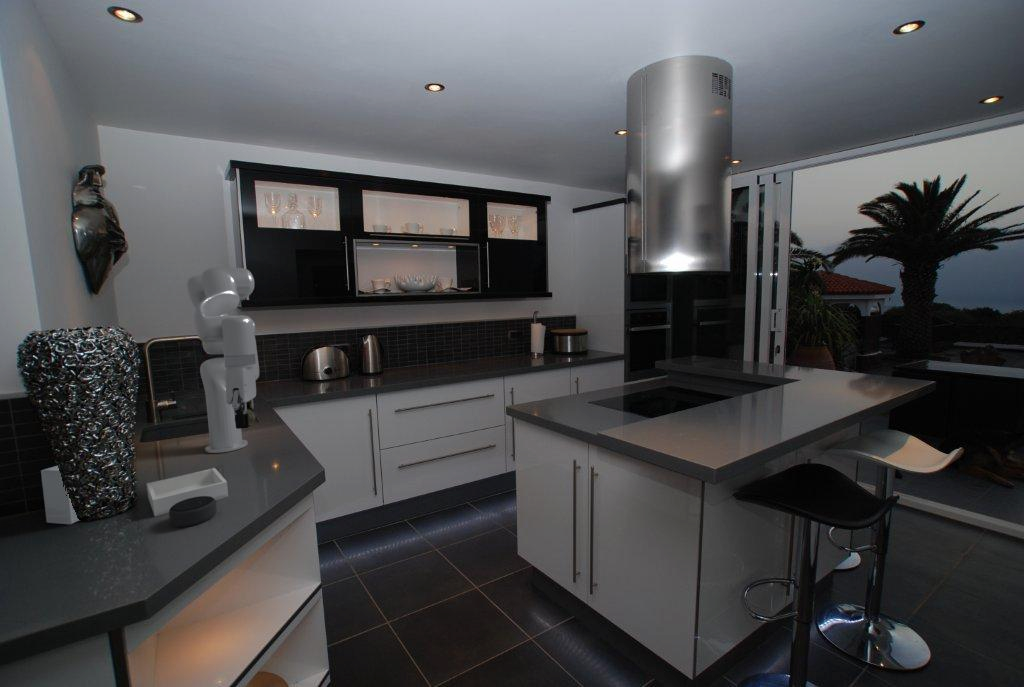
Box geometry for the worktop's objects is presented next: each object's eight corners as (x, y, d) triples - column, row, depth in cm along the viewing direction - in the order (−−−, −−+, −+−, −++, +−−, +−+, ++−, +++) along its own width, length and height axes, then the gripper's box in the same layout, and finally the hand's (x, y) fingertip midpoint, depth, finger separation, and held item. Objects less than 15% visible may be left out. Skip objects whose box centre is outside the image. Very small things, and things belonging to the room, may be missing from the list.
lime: (258, 424, 131) (257, 407, 130) (243, 429, 126) (242, 411, 126) (246, 423, 132) (245, 406, 132) (231, 428, 128) (230, 410, 127)
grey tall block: (70, 525, 105) (64, 471, 104) (45, 523, 106) (39, 469, 105) (105, 510, 112) (99, 460, 111) (81, 509, 113) (75, 459, 112)
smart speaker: (199, 528, 101) (198, 511, 101) (160, 529, 101) (158, 512, 101) (225, 510, 110) (224, 494, 110) (189, 511, 110) (187, 495, 110)
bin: (148, 498, 119) (146, 483, 118) (216, 481, 129) (214, 467, 128) (154, 516, 108) (152, 500, 107) (228, 496, 118) (226, 481, 117)
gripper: (236, 358, 135) (241, 419, 137) (212, 366, 119) (218, 435, 121) (264, 357, 137) (268, 417, 138) (244, 364, 120) (250, 432, 122)
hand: (245, 425), depth 129 cm, fingers closed on lime, 4 cm apart
